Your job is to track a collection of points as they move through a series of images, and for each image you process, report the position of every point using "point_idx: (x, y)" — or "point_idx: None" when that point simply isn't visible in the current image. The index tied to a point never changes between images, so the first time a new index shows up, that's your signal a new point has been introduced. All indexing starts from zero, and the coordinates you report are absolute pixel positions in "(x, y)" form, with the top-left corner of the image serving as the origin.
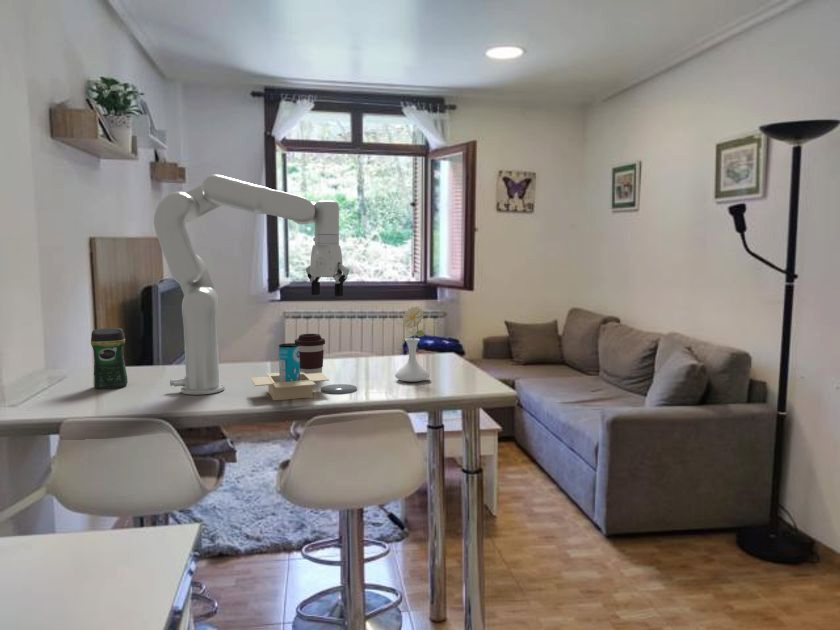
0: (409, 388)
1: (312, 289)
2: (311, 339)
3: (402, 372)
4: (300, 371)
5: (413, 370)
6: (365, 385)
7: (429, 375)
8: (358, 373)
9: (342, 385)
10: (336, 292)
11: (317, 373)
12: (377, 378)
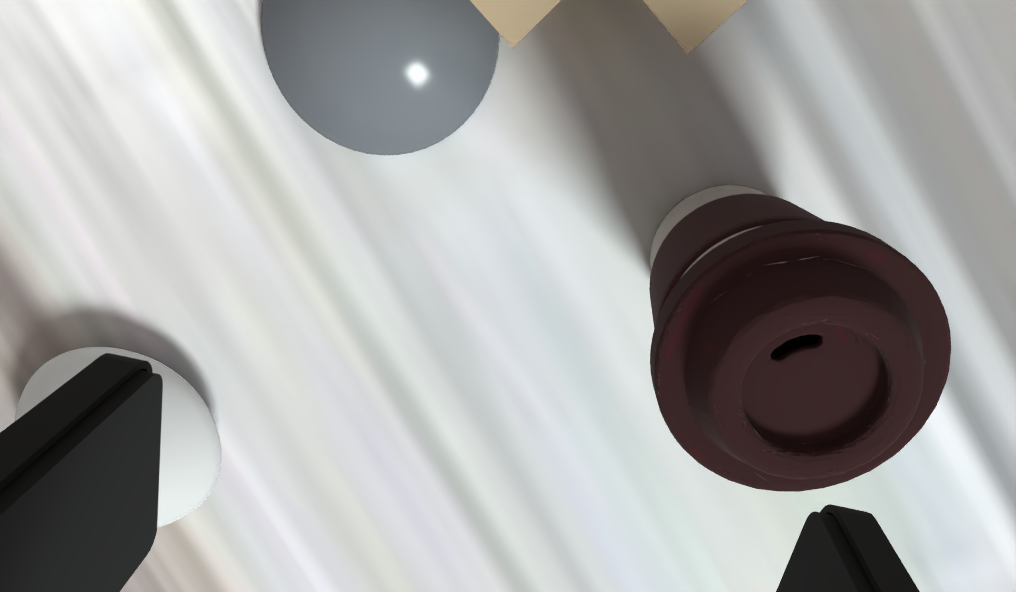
0: (30, 237)
1: (886, 589)
2: (741, 297)
3: None
4: (690, 28)
5: None
6: (303, 218)
7: None
8: (521, 500)
9: (398, 113)
10: (63, 403)
11: (523, 7)
12: (344, 414)
